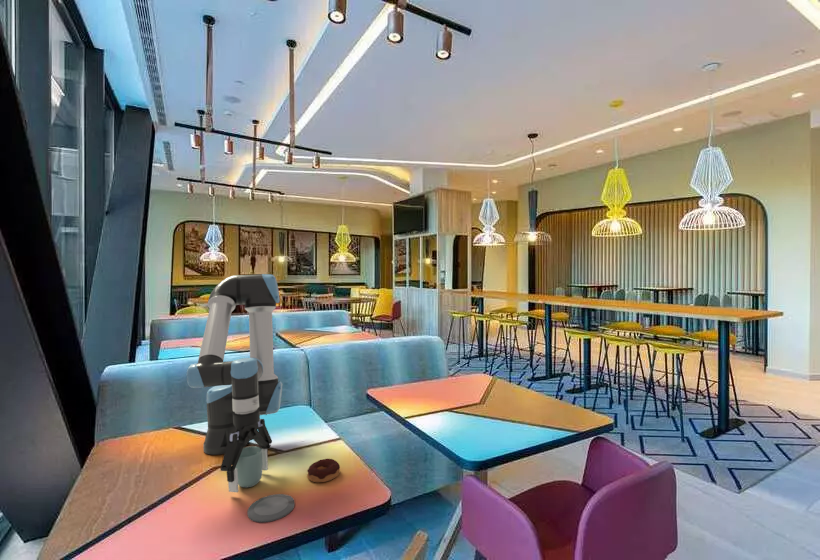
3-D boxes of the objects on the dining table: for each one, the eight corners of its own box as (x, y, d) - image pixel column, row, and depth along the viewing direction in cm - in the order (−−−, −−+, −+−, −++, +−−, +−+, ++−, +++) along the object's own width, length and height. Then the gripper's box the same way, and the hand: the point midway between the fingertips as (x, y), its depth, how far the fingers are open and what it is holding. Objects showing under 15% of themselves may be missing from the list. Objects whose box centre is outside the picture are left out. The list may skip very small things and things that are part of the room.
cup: (253, 491, 119) (252, 457, 119) (230, 490, 120) (228, 456, 120) (268, 478, 127) (266, 446, 126) (245, 477, 128) (244, 445, 128)
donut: (310, 487, 120) (309, 474, 120) (304, 473, 129) (304, 461, 129) (343, 479, 124) (343, 466, 124) (336, 466, 133) (335, 454, 133)
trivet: (237, 518, 106) (237, 515, 106) (266, 494, 117) (266, 491, 117) (277, 525, 102) (277, 521, 102) (303, 499, 114) (302, 496, 114)
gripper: (226, 426, 110) (230, 503, 110) (281, 398, 134) (284, 462, 134) (204, 424, 112) (207, 500, 113) (262, 397, 136) (264, 460, 136)
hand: (249, 479), depth 123 cm, fingers open, 13 cm apart
